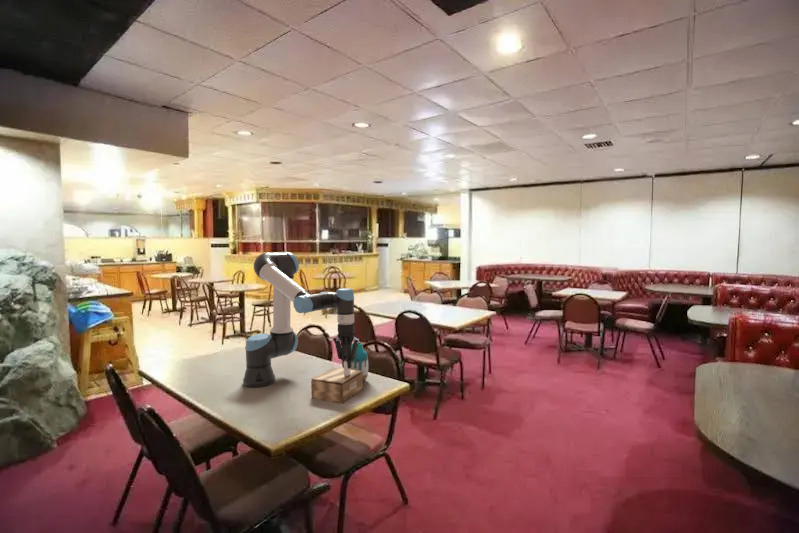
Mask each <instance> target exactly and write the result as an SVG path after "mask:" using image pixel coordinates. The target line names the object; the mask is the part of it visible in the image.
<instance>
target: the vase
mask: <svg viewBox="0 0 799 533" xmlns="http://www.w3.org/2000/svg"><path fill="white" fill-rule="evenodd" d="M363 344H364V343H362V342H360V341H359V343H358V347H357V352H356V358H355V359H354V360H352V361H351V363H352V367H351V368H350V369H351V370H361V371H362V372H361V373H363V382H364V381H366V380H367V379H368V375H369V356H368V353H367V351H366V350H364V346H363ZM352 347H353V342H352Z"/></svg>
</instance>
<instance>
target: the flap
mask: <svg viewBox="0 0 799 533" xmlns="http://www.w3.org/2000/svg"><path fill="white" fill-rule="evenodd" d="M361 372H362V371H361V370H351V369H350V375H348V376H344V368H342V367H341V368H340V367H331V368H329V369H327V370H326V371H323V372H321V373H319V374H318V375H315V376H313V377H312V378H311V381H312V380H317V381H325V382H333V383H341V384H342V383H344V382H346V381H347V380H349V379H351V378H352V377H354V376H356V375H357V374H359V373H361Z"/></svg>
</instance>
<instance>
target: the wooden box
mask: <svg viewBox="0 0 799 533" xmlns="http://www.w3.org/2000/svg"><path fill="white" fill-rule="evenodd" d="M310 382H311V383H310V384H311V386H310V387H311V399H314V400H319V401H325V402H330V403H337V404H340V405H341V404H342V405H343V404H344V403H346V402H347V401H349V400H350V399H352V398H353V397H355V396H356V395H358V394H359V393H360V392H362V391H364V381H363V373H359V374H357V375H356V376H354V377H352V378H351V379H349V380H347V381H346V382H344V383H342V384H341V383H333V382H325V381H317V380H312V379H311V381H310ZM351 397H352V398H351Z"/></svg>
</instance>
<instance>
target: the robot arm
mask: <svg viewBox="0 0 799 533" xmlns="http://www.w3.org/2000/svg"><path fill="white" fill-rule="evenodd" d="M299 268H300V265H299V260H298V257H297V256H296V255H295V254H294V253H292V252H289V251H280V252H279V251H277V252H275V251H274V252H263V253H261V254H259V255H258V256H256V258H255V260H254V262H253V270H254V273H255V274H256V276H257V277H258V278H260V279H261V280H262V281H265V282H268V283H269V284H270V285H271V286H272V287H273V292H272V293H273V295H272V296H273V297H272V298H273V300H272V302H273V306H272V307H273V308H272V309H273V310H272V311H273V312H272V314H273V315H272V316H273V317H272V318H273V320H272V325H273V326H272V328H270V330H269V333H264V332H263V333H257V334H254V335H251V336H250V337H247V339H246V340H245V348H244V349H245V361H246V362H245V363H246V366H245V367H246V368H245V369H246V370H245V372H244V376H243V379H242V382H243V383H242V384H243V386H244V387H247V388H261V387H262V388H263V387H266V386H267V387H268V386H269V385H273V384H274V383H275V382H276V375H275V373H274V370H273V367H272V359H275V358H278V357H282V356H287V355H289V354H292V353H293V352H295V350H297V348H298V344H299V340H298V339H299V338H298V335H297V333H296V332H295V331H294V328H292V327H291V302H292V304H293V308H294V309H295V310H294V311H295V312H296V313H299V314H307V313H312V312H313V313H314V312H317V311H322V310H327V309H331V310H333V309H334V310H336V313H337V314H336V315H337V316H336V317H337V319H336V320H337V323H338V324H337V334H336V335H337V336H335V337H333V338H332V339H333V342H334V345H335V350H336V354H337V359H338V360H341V364H342V367H341V368H342V369H344V376H348V375H350V368H351V367H352V363H351V361H352V360H354V359H355V358H356V352H357V347H358V343H359V342H360V341H361V339H360V338H357V337H356V335H355V329H356V328H355V296H354V289H352V288H347V287H345V288H338V289H336V292H335V291H334V292H333V291H328V290H327V291H321V292H319V293H313V294H311V293H309V292H308V290H306V289H305V288H303V287H302V286H301V285H299V284H298V283H297V282H296V281H294V279H295V274H296V273H298V271H299ZM352 343H353V347H352Z"/></svg>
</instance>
